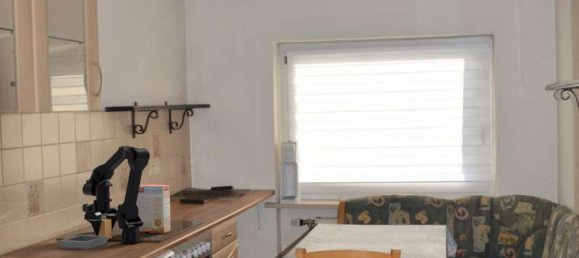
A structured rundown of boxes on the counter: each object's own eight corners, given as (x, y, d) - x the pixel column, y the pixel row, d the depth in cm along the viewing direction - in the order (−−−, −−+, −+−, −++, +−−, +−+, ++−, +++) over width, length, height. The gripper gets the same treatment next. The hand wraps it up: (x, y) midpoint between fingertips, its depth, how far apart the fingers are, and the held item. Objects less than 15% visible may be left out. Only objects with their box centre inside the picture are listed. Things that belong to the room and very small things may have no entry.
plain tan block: (111, 238, 301) (111, 219, 301) (105, 240, 297) (104, 220, 297) (102, 237, 303) (102, 218, 303) (96, 239, 299) (95, 220, 298)
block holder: (107, 243, 288) (107, 236, 288) (87, 249, 276) (86, 242, 276) (80, 242, 293) (80, 234, 293) (59, 248, 281) (59, 240, 281)
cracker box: (171, 231, 314) (170, 184, 314) (164, 233, 309) (162, 185, 308) (144, 230, 320) (143, 183, 319) (136, 232, 314) (135, 185, 314)
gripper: (100, 194, 311) (101, 229, 311) (72, 199, 294) (73, 236, 294) (121, 194, 307) (122, 230, 307) (95, 199, 290) (96, 238, 290)
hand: (103, 233), depth 300 cm, fingers open, 9 cm apart
